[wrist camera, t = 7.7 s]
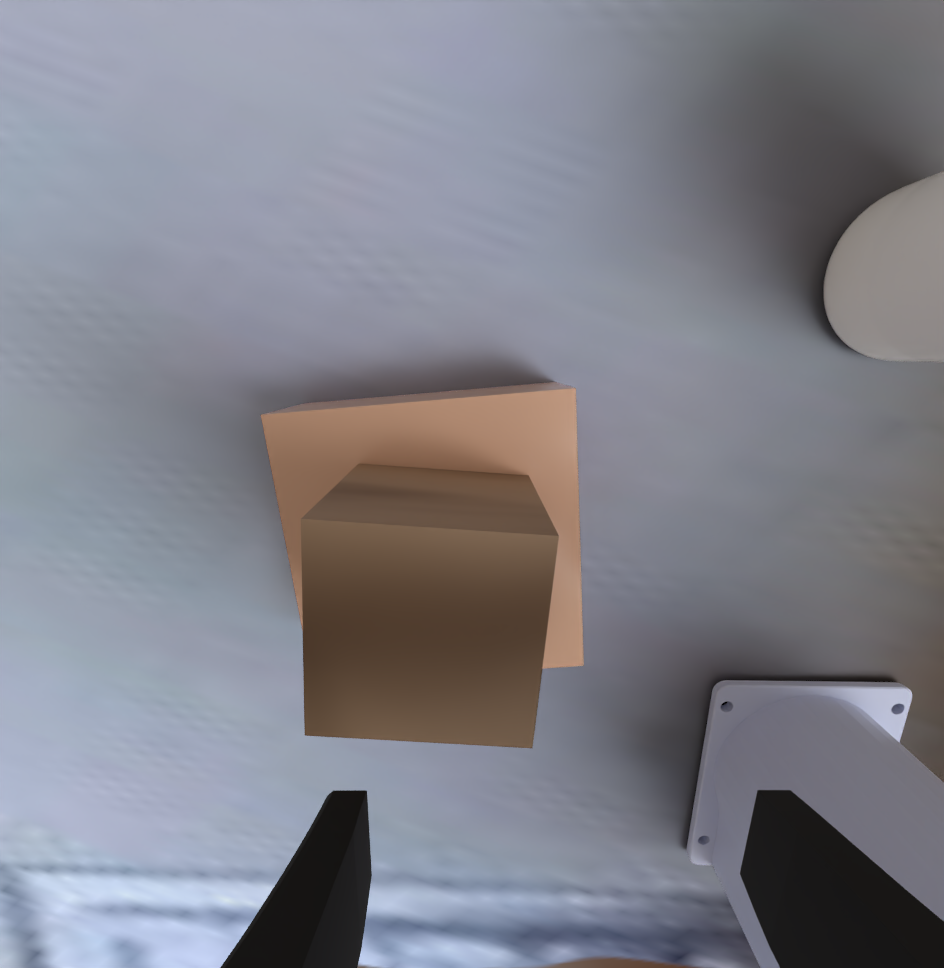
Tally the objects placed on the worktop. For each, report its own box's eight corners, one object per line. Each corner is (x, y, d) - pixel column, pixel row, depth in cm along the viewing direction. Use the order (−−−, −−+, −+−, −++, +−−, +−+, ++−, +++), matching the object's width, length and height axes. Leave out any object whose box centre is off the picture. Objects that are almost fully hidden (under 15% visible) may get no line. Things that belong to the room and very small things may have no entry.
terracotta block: (561, 605, 20) (583, 665, 16) (344, 621, 20) (313, 684, 16) (552, 381, 17) (575, 388, 14) (307, 402, 18) (260, 414, 14)
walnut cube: (512, 626, 15) (532, 748, 11) (356, 616, 15) (304, 735, 11) (528, 475, 14) (558, 536, 9) (358, 463, 14) (300, 518, 9)
